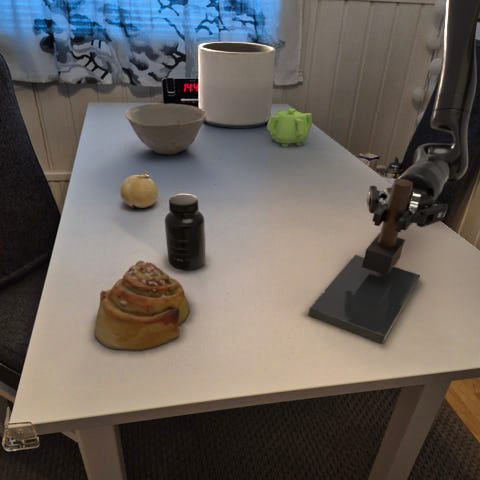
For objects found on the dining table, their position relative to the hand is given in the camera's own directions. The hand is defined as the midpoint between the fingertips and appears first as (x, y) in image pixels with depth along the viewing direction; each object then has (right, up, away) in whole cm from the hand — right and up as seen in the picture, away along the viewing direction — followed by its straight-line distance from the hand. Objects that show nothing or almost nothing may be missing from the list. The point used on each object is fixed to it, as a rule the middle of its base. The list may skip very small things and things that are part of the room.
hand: (388, 223), depth 68 cm
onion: (-45, +11, +31) cm, 56 cm away
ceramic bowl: (-44, +34, +61) cm, 83 cm away
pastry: (-37, -15, -1) cm, 40 cm away
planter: (-25, +56, +89) cm, 108 cm away
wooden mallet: (+1, -5, +7) cm, 9 cm away
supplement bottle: (-33, -4, +13) cm, 35 cm away
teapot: (-8, +40, +71) cm, 82 cm away
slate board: (-2, -11, +6) cm, 13 cm away
